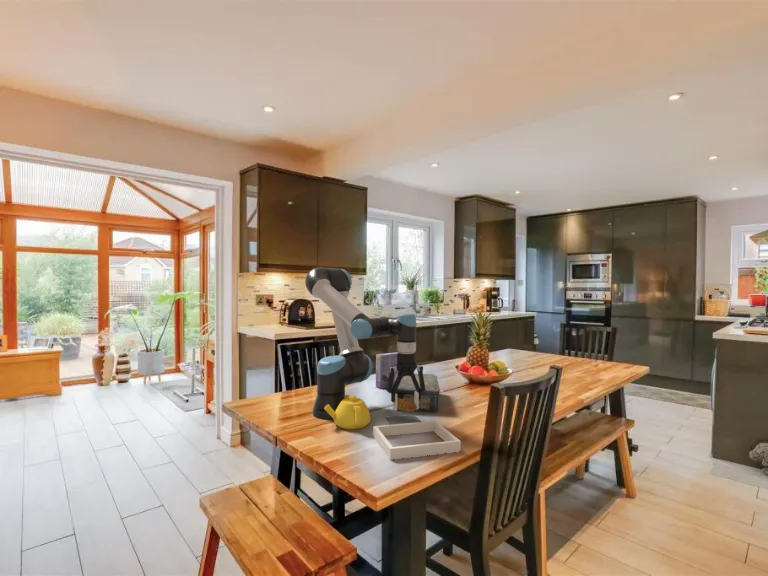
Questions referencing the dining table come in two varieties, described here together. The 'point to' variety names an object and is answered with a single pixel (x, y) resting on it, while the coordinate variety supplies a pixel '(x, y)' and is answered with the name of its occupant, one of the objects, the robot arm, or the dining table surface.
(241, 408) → the dining table surface
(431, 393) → the metal box
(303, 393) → the dining table surface
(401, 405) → the pastry
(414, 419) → the mat
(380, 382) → the cake pan box
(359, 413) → the teapot
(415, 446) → the white shallow tray
